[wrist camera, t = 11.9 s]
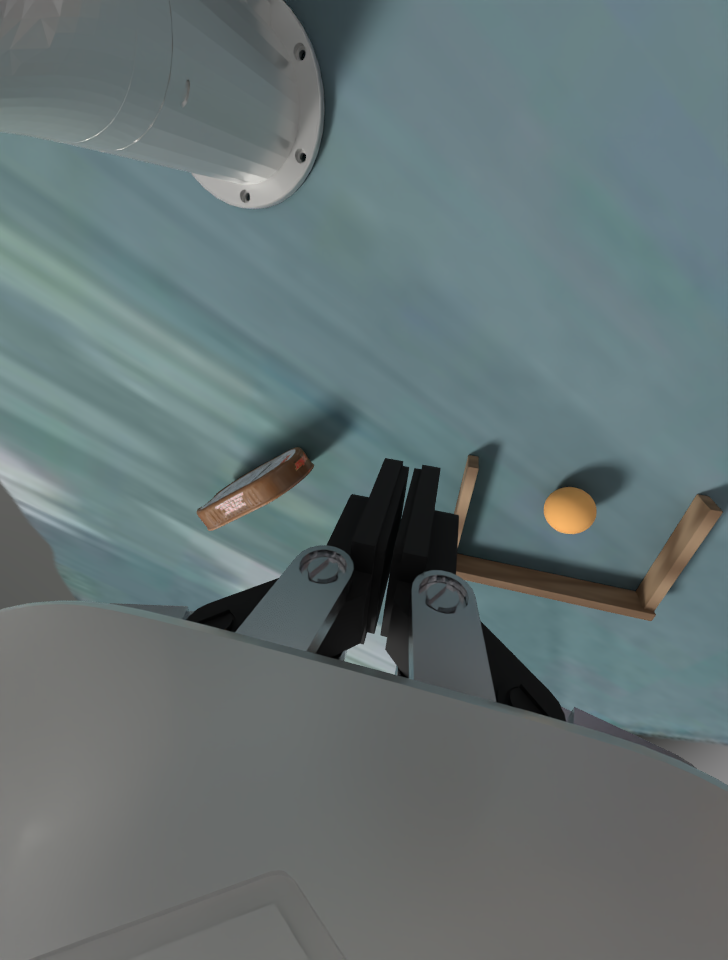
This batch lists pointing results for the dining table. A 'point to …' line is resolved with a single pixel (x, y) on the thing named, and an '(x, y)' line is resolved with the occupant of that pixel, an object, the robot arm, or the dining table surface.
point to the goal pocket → (584, 592)
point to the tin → (256, 488)
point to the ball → (570, 510)
